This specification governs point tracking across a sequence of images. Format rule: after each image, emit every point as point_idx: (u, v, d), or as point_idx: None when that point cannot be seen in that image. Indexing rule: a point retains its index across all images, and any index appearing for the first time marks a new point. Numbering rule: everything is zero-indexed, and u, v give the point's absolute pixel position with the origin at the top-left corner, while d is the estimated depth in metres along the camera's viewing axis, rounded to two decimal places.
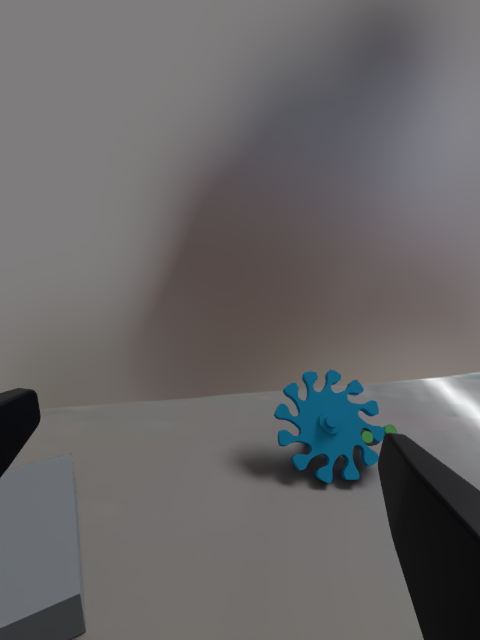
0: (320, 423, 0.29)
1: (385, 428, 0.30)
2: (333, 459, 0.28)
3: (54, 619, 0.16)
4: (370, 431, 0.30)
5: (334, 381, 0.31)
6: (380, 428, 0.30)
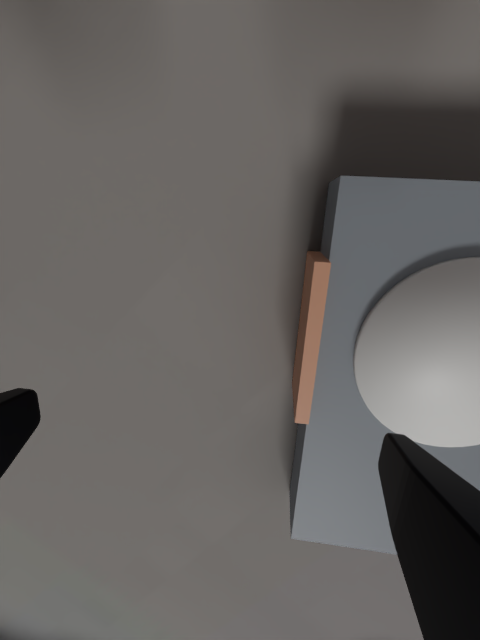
0: None
1: None
2: None
3: (292, 503, 0.18)
4: None
5: None
6: None
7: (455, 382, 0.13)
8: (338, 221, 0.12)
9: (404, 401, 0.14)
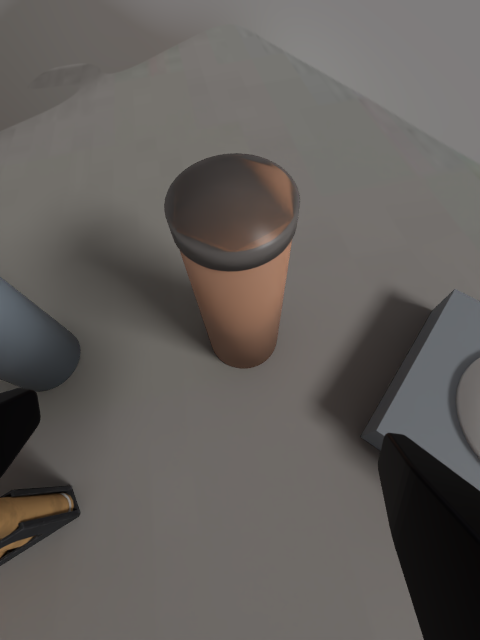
0: None
1: None
2: None
3: None
4: None
5: None
6: None
7: None
8: None
9: None
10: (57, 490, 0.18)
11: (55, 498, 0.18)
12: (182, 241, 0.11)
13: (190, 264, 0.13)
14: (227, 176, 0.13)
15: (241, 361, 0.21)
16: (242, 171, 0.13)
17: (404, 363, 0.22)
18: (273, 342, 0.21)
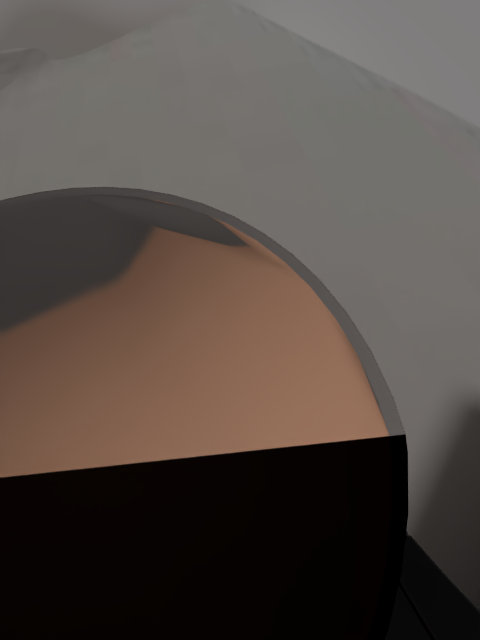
0: None
1: None
2: None
3: None
4: None
5: None
6: None
7: None
8: None
9: None
10: None
11: None
12: None
13: None
14: (28, 305, 0.03)
15: None
16: (109, 271, 0.03)
17: None
18: None
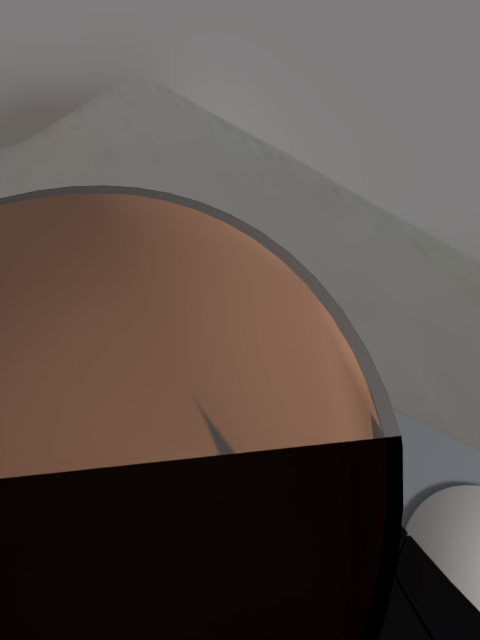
0: None
1: None
2: None
3: None
4: None
5: None
6: None
7: None
8: None
9: None
10: None
11: None
12: None
13: None
14: (25, 303, 0.03)
15: None
16: (106, 269, 0.03)
17: None
18: None
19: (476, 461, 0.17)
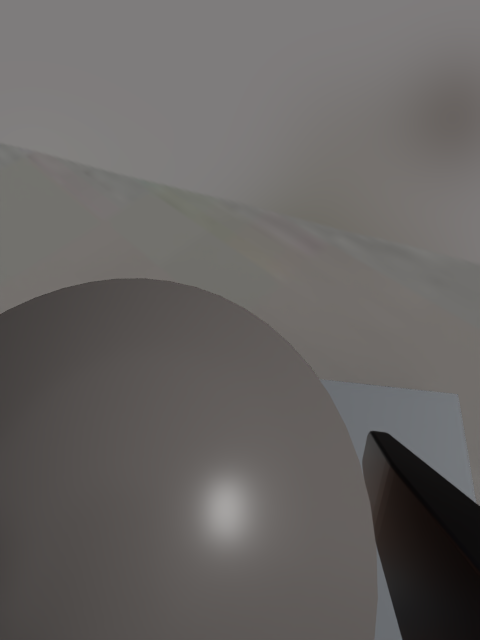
0: None
1: None
2: None
3: None
4: None
5: None
6: None
7: None
8: None
9: None
10: None
11: None
12: None
13: None
14: (91, 384, 0.03)
15: None
16: (150, 357, 0.04)
17: None
18: None
19: None
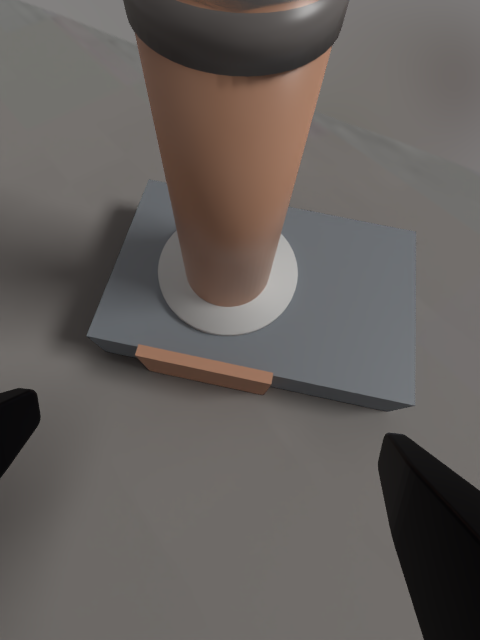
0: None
1: None
2: None
3: (381, 403, 0.18)
4: None
5: None
6: None
7: None
8: (115, 339, 0.17)
9: (257, 301, 0.18)
10: None
11: None
12: None
13: (155, 73, 0.08)
14: None
15: (221, 294, 0.17)
16: None
17: None
18: (265, 274, 0.16)
19: None
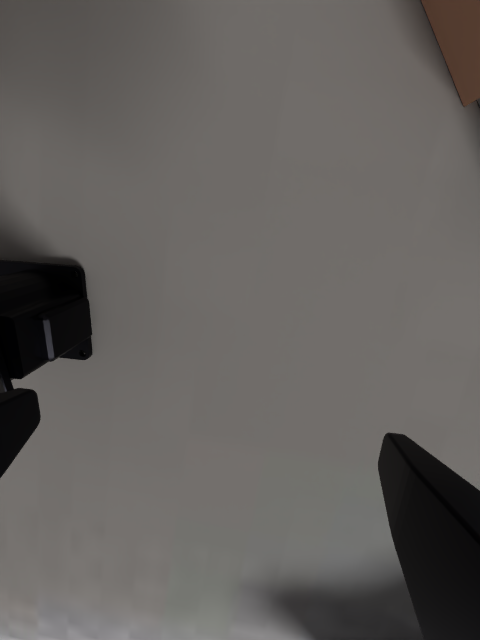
0: None
1: None
2: None
3: None
4: None
5: None
6: None
7: None
8: None
9: None
10: None
11: None
12: None
13: None
14: None
15: None
16: None
17: None
18: None
19: None
